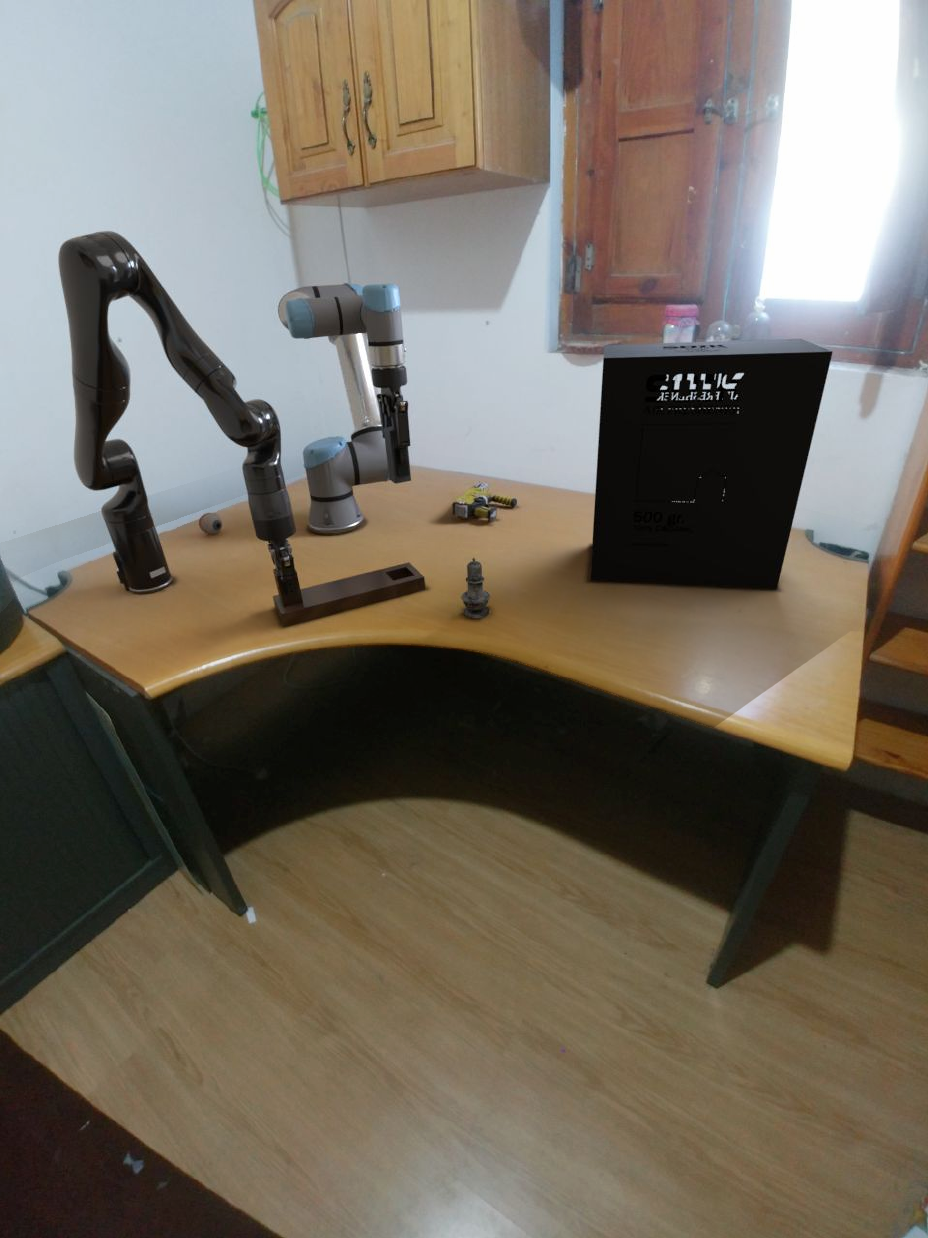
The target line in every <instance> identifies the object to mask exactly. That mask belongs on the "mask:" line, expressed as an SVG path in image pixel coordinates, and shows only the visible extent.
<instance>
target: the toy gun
mask: <svg viewBox="0 0 928 1238" xmlns="http://www.w3.org/2000/svg"><path fill="white" fill-rule="evenodd" d="M489 485H490V484H489V482H487V481H484V482H483V481H482V480H480V481H478V483H476V484H475V485H474V486H473V485H472V486H471V487H470V488H469V489H468V490H466V491H465V492H464V493H463V494H462V495H460V497H458V498H457V499H456V500H454V502H453V503H452V504H451V515H452V516H453V517H456V518H457V519H460V520H463V519H471V518H476V517H481V518H484V519H487V522H488V523H490V522H492V521H494V520H496V519H497V515H498V514H497V513H498V506H495V505H494V506H492V507H491V506H490V505H489V504H490V503H492V502H493V503H495V504H496V503H498V504H501V505H505V506H509V507H512V508H515V507H516V506H517V505H518V499H517V498H516V497H509V496H504V495H499V494H497V493H496V494H494V495H491V493H490V492H489V490H487V489H488V488H489Z"/></svg>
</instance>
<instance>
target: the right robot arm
mask: <svg viewBox="0 0 928 1238" xmlns="http://www.w3.org/2000/svg"><path fill="white" fill-rule="evenodd" d="M399 290H400V289H399V287H398V285H397V284H395V283H379V284H366V285H364V286H362V285H361V284H359V283H348V282H344V283H341V284H329V285H327V284H325V285H310V286H309V285H308V286H306V285H305V286H301V287H298V288H295V289H292V290H290V291H289V292H287V293H285V294H284V295H283V296H282V297H281V299H279V302H278V305H277V313H278V318H279V320H280V322H281V324H282V325H283V326H284V328H286V330H288V331H289V334H290V336H291V338H292V339H304V340H309V339H315V338H324V337H327V338H328V341H329V343H331V344H332V345H334V346H335V348H336V353H337V357H338V361H339V366H340V371H341V375H342V379H343V384H344V389H345V393H346V397H347V398H346V399H347V402H348V405H349V410H350V414H351V420H352V424H353V431H352V433H350V440H351V441H347V440H346V438H345V437H343V436H341V435H340V436H328V437H323V438H320V439H317V440H314V441H312V442H310V443H308V444H307V445H306V446H305V447H304V448H303V450H302V457H303V467H304V469H305V474H306V475H305V476H306V480H307V486H308V492H309V498H310V507H309V513H308V521H307V524H308V528H309V529H308V530H310V531H311V532H312V533H314V534H317V535H323V536H324V535H325V536H327V535H329V536H331V535H339V534H340V535H341V534H345V533H350V532H353V531H355V530H357V529H359V528H361V527H362V526H363V525H364V523H365V519H364V514H363V512H362V510H361V508H360V505H359V504H358V501H357V500H356V498H355V495H354V489H353V487H355V486H356V487H357V486H362V485H363V486H364V485H369V484H376V483H381V482H382V483H383V482H385V483H387V482H389V481H391V480H390V479H389V471H388V462H387V454H386V445H385V436H384V428H386V427H392V428H393V433H394V439H395V445H396V446H395V447H393V449H394V451H395V460H396V469H397V477H403V476H408V475H409V467H408V457H407V447H408V448H409V447H411V435H410V422H409V421H410V420H409V402H408V400H404V396H403V394H402V390H401V388H402V387H404V386H407V384H408V376H407V373H408V372H407V367H406V366H405V365H404V364H405V363H406V354H405V353H406V352H407V348H406V347H405V344H404V342H405V341H404V331H403V320H402V319H403V318H402V308H401V307H402V301H401V297H400V291H399ZM378 389H380V393H379V390H378Z"/></svg>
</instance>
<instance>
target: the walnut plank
mask: <svg viewBox="0 0 928 1238" xmlns="http://www.w3.org/2000/svg"><path fill="white" fill-rule="evenodd" d="M272 572H273V576H274V581H275V585H276V590H277V594H275V595H272V599H273V604H274V607H275V610H276V612H277V614H278V616H279V618H280V620H281V623H282V625H283V627H289V626H293V625H296V624H300V623H303V622H307V621H311V620H315V619H318V618H322V617H326V616H329V615H330V616H331V615H335V614H337V613H341V612H344V611H348V610H352V609H356V608H360V607H363V606H367V605H370V604H375V603H379V602H383V601H387V600H390V599H394V598H397V597H400V596H404V595H408V594H412V593H416V592H419V591H424V590H426V580H425V579H426V578H425V576H424V574H422V573H421V572H420V571H419V570H418V569H417V568H416V567H414V565H412V564H411V562H404V563H400V564H396V565H392V566H388V567H384V568H380V569H376V570H372V571H368V572H364V573H359V574H356V575H351V576H348V577H344V578H340V579H336V580H332V581H327V582H324V583H320V584H315V585H312V586H308V587H303V588H301V584H300V580H299V577H298V571H297V570H296V569H295V573H296V579H295V580H294V581H295V585H296V590H297V595H296V596H293V597H289V598H288V597H286V594H285V590H284V585H283V581H282V580H281V575H280V571H279V570H277V569H275V568H272ZM287 574H291V573H290V572H289V573H286V574H285V575H287Z"/></svg>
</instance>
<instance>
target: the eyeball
mask: <svg viewBox="0 0 928 1238" xmlns="http://www.w3.org/2000/svg"><path fill="white" fill-rule="evenodd" d="M198 526H199V528H200V530H201V531H202V532H203V533H204V534H206V535H212V536H214V535H216V534H218V533H220V532H221V531H222V529H223V520H222V518H221V517H220V515H218V514H217V513H214V512H206V513H203V515H201V516H200V517H199V520H198Z"/></svg>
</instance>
